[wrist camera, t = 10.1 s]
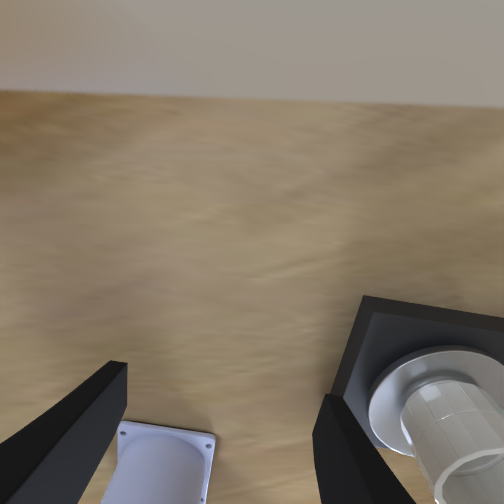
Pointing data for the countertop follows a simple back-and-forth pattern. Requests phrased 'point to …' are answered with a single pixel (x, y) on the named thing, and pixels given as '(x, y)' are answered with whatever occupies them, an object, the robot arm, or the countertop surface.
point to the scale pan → (422, 373)
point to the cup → (457, 441)
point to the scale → (404, 344)
